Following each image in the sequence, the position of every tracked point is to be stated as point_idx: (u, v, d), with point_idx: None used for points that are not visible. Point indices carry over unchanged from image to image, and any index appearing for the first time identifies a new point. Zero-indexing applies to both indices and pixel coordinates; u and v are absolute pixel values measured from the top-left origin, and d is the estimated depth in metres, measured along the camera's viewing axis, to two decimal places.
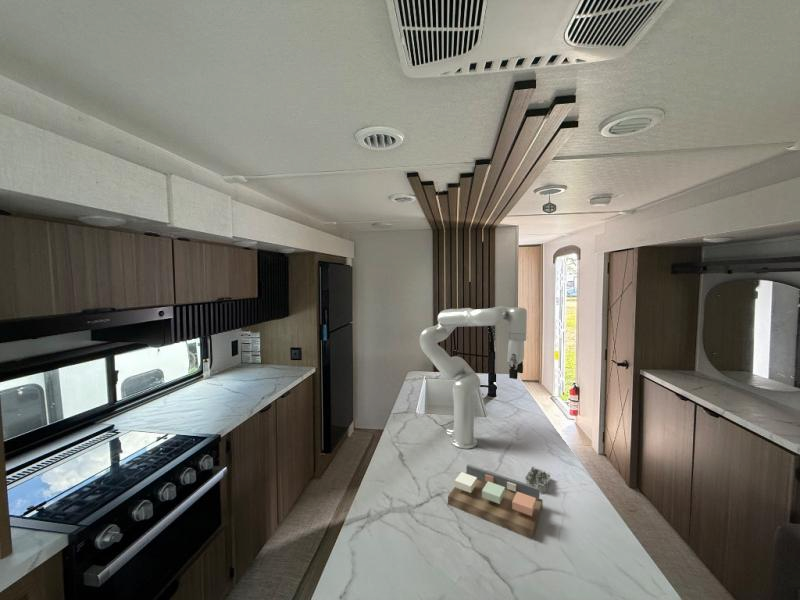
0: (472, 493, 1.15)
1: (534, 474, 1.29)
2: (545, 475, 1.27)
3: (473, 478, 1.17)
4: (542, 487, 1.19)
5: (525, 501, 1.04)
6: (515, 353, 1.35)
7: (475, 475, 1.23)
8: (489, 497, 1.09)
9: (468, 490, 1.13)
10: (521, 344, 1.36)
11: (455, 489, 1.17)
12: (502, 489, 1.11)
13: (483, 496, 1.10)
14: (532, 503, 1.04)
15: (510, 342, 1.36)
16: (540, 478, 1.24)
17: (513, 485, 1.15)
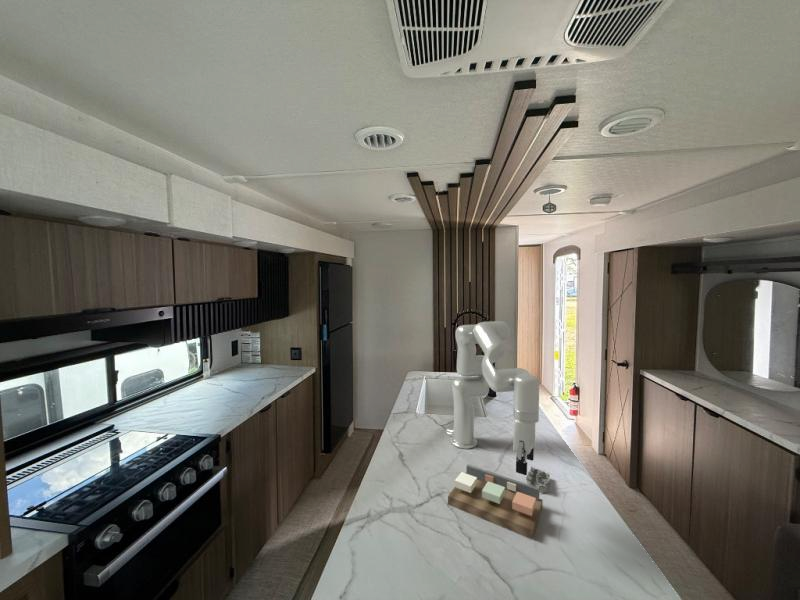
0: (472, 493, 1.15)
1: (533, 474, 1.29)
2: (544, 475, 1.28)
3: (473, 478, 1.17)
4: (543, 487, 1.19)
5: (525, 501, 1.04)
6: (524, 440, 0.99)
7: (475, 475, 1.23)
8: (489, 497, 1.09)
9: (468, 490, 1.13)
10: (532, 427, 1.01)
11: (455, 489, 1.17)
12: (502, 489, 1.11)
13: (483, 496, 1.10)
14: (532, 503, 1.04)
15: (517, 424, 1.01)
16: (540, 478, 1.24)
17: (513, 485, 1.15)
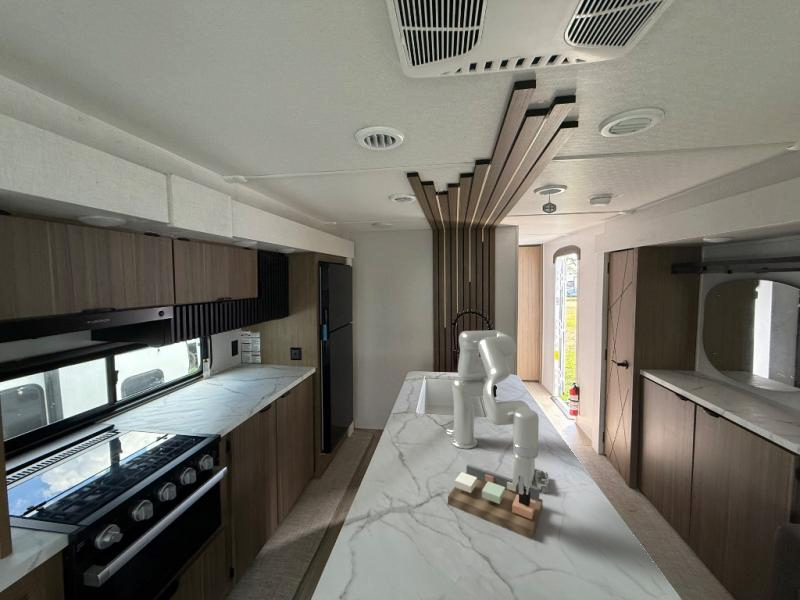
0: (472, 493, 1.15)
1: None
2: (543, 474, 1.28)
3: (473, 478, 1.17)
4: (545, 487, 1.19)
5: None
6: (523, 476, 1.00)
7: (475, 475, 1.23)
8: (489, 497, 1.09)
9: (468, 490, 1.13)
10: (531, 462, 1.01)
11: (455, 489, 1.17)
12: (502, 489, 1.11)
13: (483, 496, 1.10)
14: (532, 506, 1.04)
15: (516, 459, 1.01)
16: (540, 478, 1.25)
17: None
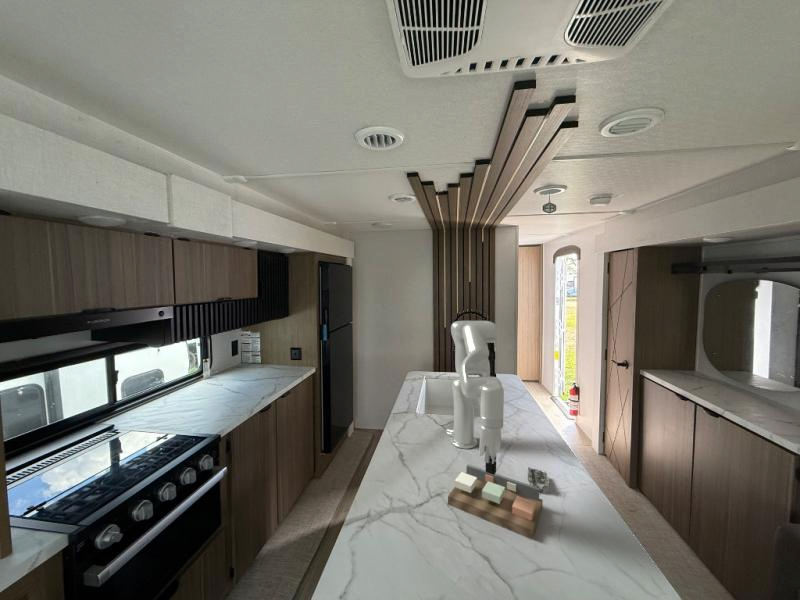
0: (472, 493, 1.15)
1: None
2: (541, 474, 1.28)
3: (473, 478, 1.17)
4: (546, 487, 1.19)
5: (525, 506, 1.05)
6: (489, 445, 1.06)
7: (475, 475, 1.23)
8: (489, 497, 1.09)
9: (468, 490, 1.13)
10: (496, 433, 1.07)
11: (455, 489, 1.17)
12: (502, 489, 1.11)
13: (483, 496, 1.10)
14: (532, 508, 1.04)
15: (483, 430, 1.07)
16: (540, 478, 1.25)
17: (513, 485, 1.15)
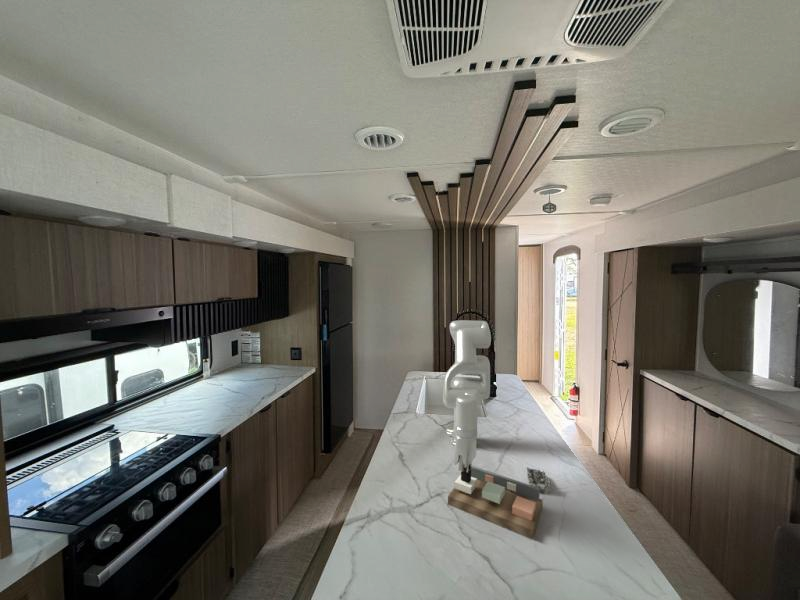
0: (472, 493, 1.15)
1: None
2: (540, 473, 1.29)
3: (473, 479, 1.17)
4: (547, 487, 1.19)
5: (525, 506, 1.05)
6: (462, 455, 1.11)
7: (475, 475, 1.23)
8: (489, 497, 1.09)
9: (468, 491, 1.13)
10: (470, 443, 1.12)
11: (455, 489, 1.17)
12: (502, 489, 1.11)
13: (483, 496, 1.10)
14: (532, 508, 1.04)
15: (457, 440, 1.12)
16: (539, 478, 1.25)
17: (513, 485, 1.15)
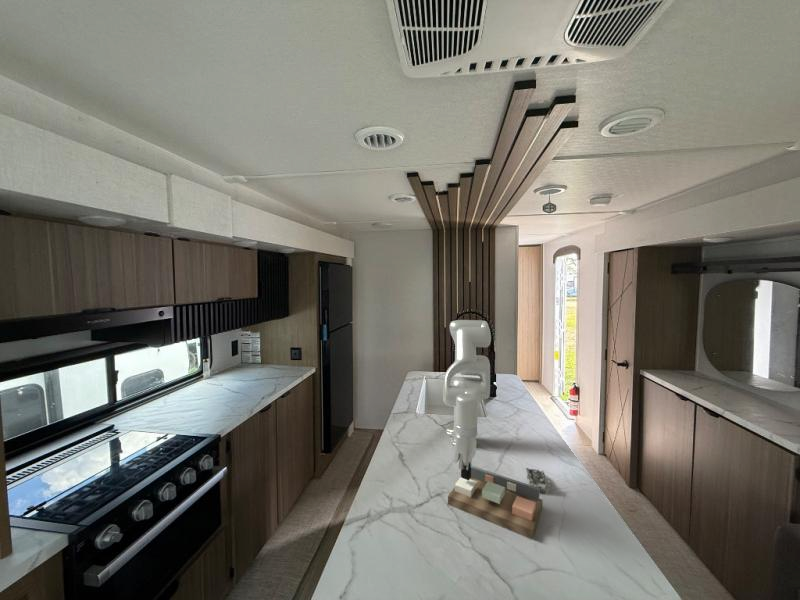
0: None
1: None
2: (539, 473, 1.29)
3: (473, 482, 1.17)
4: (548, 487, 1.19)
5: (525, 506, 1.05)
6: (462, 453, 1.11)
7: (475, 475, 1.23)
8: (489, 497, 1.09)
9: (468, 494, 1.13)
10: (470, 441, 1.13)
11: None
12: (502, 489, 1.11)
13: (483, 496, 1.10)
14: (532, 508, 1.04)
15: (457, 439, 1.13)
16: (539, 478, 1.25)
17: (513, 485, 1.15)
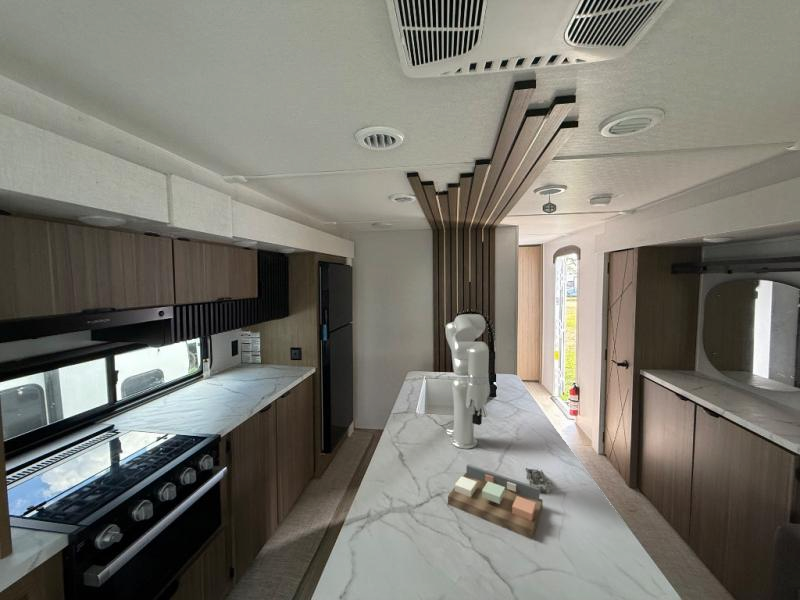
0: None
1: None
2: (538, 473, 1.29)
3: (473, 482, 1.17)
4: (549, 487, 1.19)
5: (525, 506, 1.05)
6: (474, 399, 1.21)
7: (475, 475, 1.23)
8: (489, 497, 1.09)
9: (468, 494, 1.13)
10: (481, 388, 1.22)
11: None
12: (502, 489, 1.11)
13: (483, 496, 1.10)
14: (532, 508, 1.04)
15: (469, 386, 1.23)
16: (539, 478, 1.25)
17: (513, 485, 1.15)
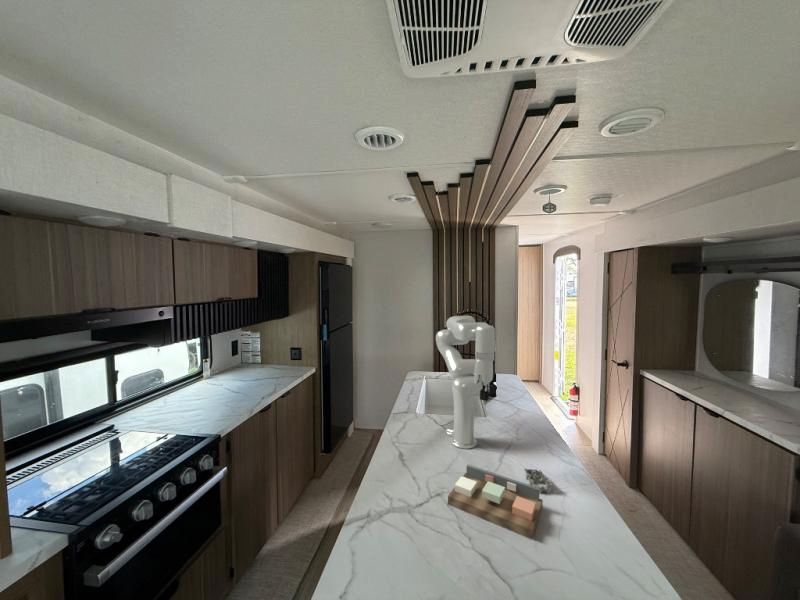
0: None
1: None
2: (536, 472, 1.29)
3: (473, 482, 1.17)
4: (550, 486, 1.20)
5: (525, 506, 1.05)
6: (482, 374, 1.28)
7: (475, 475, 1.23)
8: (489, 497, 1.09)
9: (468, 494, 1.13)
10: (488, 364, 1.29)
11: None
12: (502, 489, 1.11)
13: (483, 496, 1.10)
14: (532, 508, 1.04)
15: (477, 362, 1.29)
16: (539, 477, 1.25)
17: (513, 485, 1.15)
